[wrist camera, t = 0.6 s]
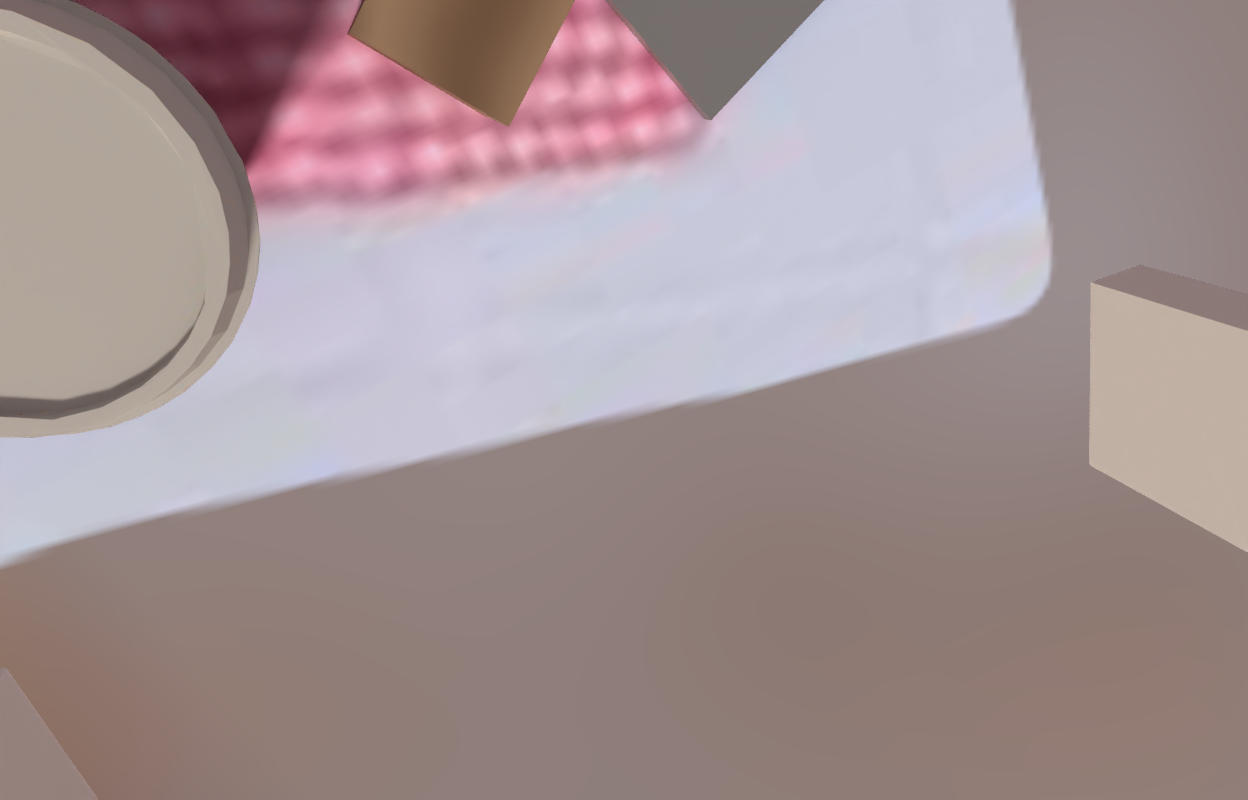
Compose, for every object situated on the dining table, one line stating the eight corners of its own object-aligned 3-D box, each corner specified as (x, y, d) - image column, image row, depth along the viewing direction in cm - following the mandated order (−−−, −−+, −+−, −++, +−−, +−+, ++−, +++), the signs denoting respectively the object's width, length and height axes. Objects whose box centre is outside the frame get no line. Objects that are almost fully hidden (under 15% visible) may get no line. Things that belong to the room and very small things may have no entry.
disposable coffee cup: (228, -22, 27) (156, -69, 16) (320, 274, 31) (311, 394, 20) (-120, 30, 25) (-462, 16, 14) (26, 340, 29) (-156, 512, 18)
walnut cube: (347, 34, 28) (349, 31, 24) (417, -113, 27) (432, -144, 23) (483, 115, 31) (508, 126, 26) (552, -19, 30) (590, -31, 25)
